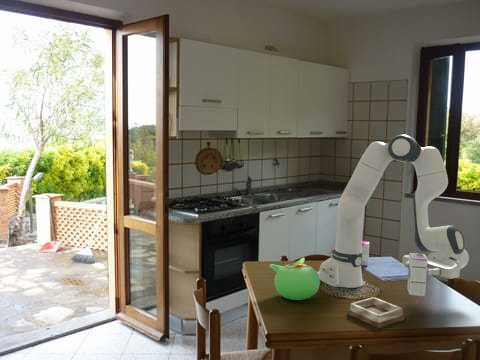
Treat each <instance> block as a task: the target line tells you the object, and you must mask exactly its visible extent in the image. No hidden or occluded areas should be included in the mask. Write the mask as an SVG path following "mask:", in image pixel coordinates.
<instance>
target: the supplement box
mask: <svg viewBox="0 0 480 360" xmlns="http://www.w3.org/2000/svg"><path fill="white" fill-rule="evenodd" d="M361 252H362V262H361V267H366V268H367V267H369V258H370V241H367V240H362V250H361Z"/></svg>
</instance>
